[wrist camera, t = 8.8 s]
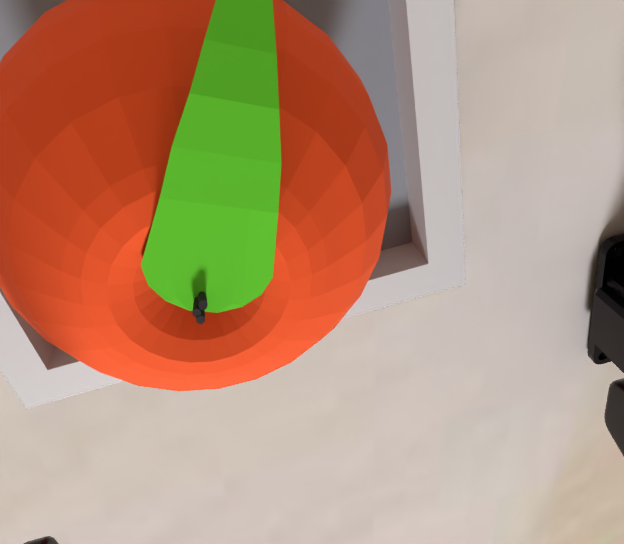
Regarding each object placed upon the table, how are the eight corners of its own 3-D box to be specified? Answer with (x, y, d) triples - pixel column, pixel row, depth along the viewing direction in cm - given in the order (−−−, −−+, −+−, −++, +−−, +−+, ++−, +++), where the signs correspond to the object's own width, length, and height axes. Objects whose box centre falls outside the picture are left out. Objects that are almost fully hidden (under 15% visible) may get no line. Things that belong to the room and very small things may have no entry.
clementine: (18, -160, 10) (-218, -267, 4) (387, -55, 12) (600, -20, 6) (24, 245, 14) (-90, 499, 8) (302, 272, 16) (379, 490, 10)
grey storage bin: (352, -251, 13) (439, -333, 9) (401, 204, 20) (465, 284, 15) (-178, -141, 12) (-367, -173, 8) (59, 297, 19) (26, 409, 15)
